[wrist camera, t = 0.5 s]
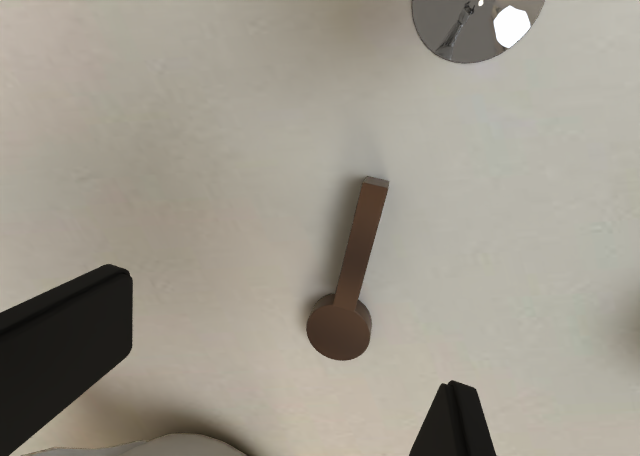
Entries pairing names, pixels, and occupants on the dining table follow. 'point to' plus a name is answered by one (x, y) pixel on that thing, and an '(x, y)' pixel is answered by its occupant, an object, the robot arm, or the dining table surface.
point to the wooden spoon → (350, 284)
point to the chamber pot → (154, 448)
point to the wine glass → (473, 26)
